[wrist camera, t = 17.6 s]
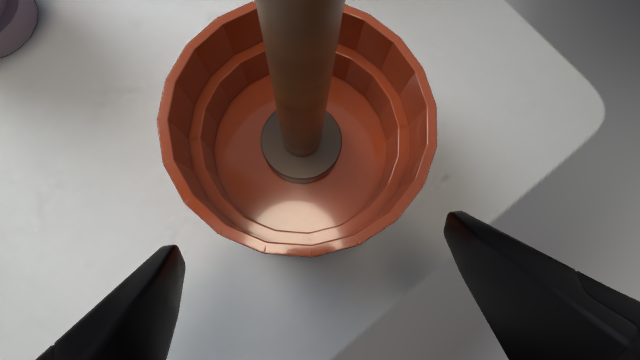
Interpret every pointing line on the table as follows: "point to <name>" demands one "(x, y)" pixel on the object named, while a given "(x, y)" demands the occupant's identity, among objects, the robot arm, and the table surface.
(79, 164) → the table surface
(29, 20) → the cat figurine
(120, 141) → the table surface
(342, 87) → the mixing bowl
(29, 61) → the table surface
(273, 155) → the wooden peg on base
